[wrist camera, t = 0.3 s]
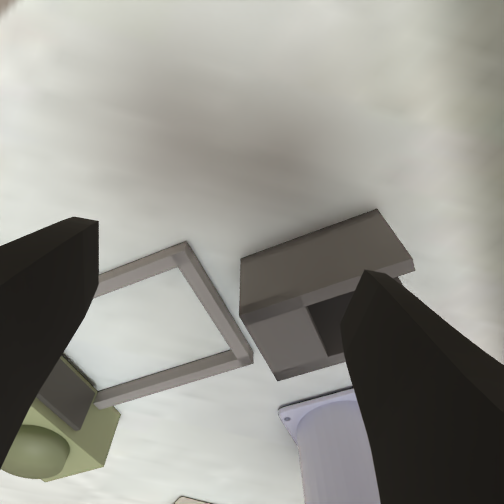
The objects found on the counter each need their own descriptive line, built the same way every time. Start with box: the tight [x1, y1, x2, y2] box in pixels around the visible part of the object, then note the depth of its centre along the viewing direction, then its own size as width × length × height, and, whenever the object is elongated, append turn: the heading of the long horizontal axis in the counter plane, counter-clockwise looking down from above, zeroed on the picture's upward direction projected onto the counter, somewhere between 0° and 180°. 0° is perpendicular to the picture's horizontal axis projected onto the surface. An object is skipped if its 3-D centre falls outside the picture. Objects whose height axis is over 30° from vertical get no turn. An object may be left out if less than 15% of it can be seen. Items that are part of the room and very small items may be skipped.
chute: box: [239, 209, 415, 381], centre depth 20 cm, size 8×5×5 cm, turn 113°
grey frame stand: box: [1, 241, 253, 482], centre depth 22 cm, size 14×17×5 cm
